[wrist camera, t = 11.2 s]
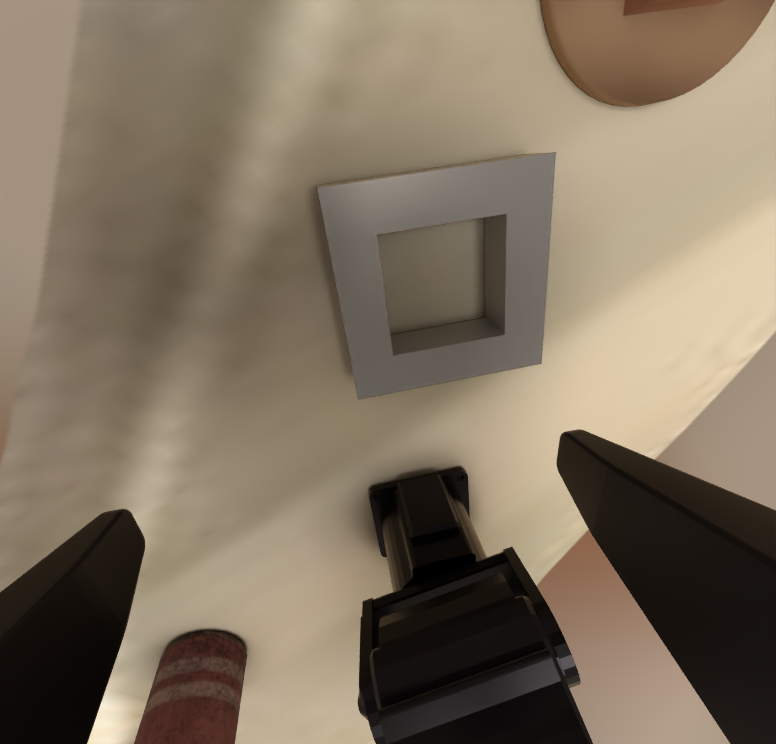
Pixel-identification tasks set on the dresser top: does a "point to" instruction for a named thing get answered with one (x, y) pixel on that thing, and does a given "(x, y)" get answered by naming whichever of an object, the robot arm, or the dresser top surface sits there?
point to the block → (661, 5)
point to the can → (196, 692)
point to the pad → (647, 46)
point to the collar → (502, 268)
